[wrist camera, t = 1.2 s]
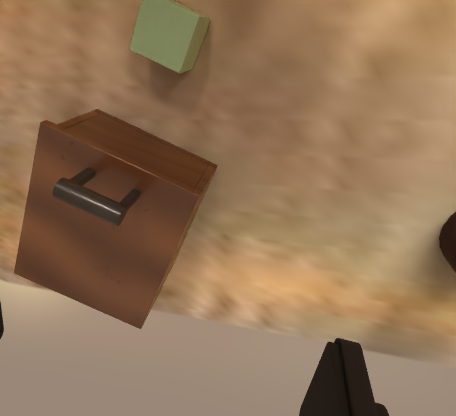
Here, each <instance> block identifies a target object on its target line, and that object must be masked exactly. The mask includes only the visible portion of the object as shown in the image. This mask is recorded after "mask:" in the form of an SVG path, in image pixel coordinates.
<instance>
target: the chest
mask: <svg viewBox="0 0 456 416" xmlns="http://www.w3.org/2000/svg"><path fill="white" fill-rule="evenodd" d="M57 125H58V126H60V127H62V128H65V129H67V130H69V131H71V132H73V133H75V134H77V135H80V136H82V137H84V138H86V139H88V140H90V141H93V142H95V143H97V144H99V145H101V146H103V147H105V148H108V149H110V150H112V151H114V152H116V153H118V154H120V155H123V156H125V157H127V158H129V159H131V160H133V161H135V162H138V163H140V164H142V165H144V166H146V167H148V168H150V169H153V170H155V171H157V172H159V173H161V174H163V175H166V176H168V177H170V178H172V179H174V180H176V181H178V182H181V183H183V184H185V185H187V186H189V187H191V188H193V189H196V190H198V191H200V192H201V195H200V197H199V200H198V202H197V204H196V207H195V209H194V211H193V213H192V216H191V218H190V220H189V222H188V225H187V227H186V229H185V231H184V234H183V236H182V238H181V240H180V243H179V245H178V247H177V249H176V252H175V254H174V256H173V258H172V261H171V263H170V265H169V267H168V270H167V272H166V274H165V277H164V279H163V281H162V283H161V286H160V288H159V290H158V292H157V295H156V297H155V299H154V301H153V304H154V302H155V300H156V298H157V296H158V294H159V292H160V290H161V288H162V286H163V284H164V282H165V280H166V278H167V276H168V274H169V272H170V270H171V268H172V266H173V264H174V261H175V259H176V257H177V255H178V252H179V250H180V248H181V246H182V243H183V241H184V239H185V237H186V235H187V232H188V230H189V228H190V226H191V223H192V221H193V219H194V217H195V214H196V212H197V210H198V208H199V206H200V203H201V201H202V199H203V197H204V194H205V192H206V190H207V188H208V186H209V183H210V181H211V179H212V177H213V174H214V172H215V170H216V168H217V165H215V164H213V163H211V162H209V161H207V160H205V159H203V158H200V157H198V156H196V155H194V154H192V153H190V152H188V151H186V150H183V149H181V148H179V147H177V146H175V145H173V144H171V143H169V142H167V141H164V140H162V139H160V138H158V137H156V136H154V135H152V134H150V133H147V132H145V131H143V130H141V129H139V128H137V127H135V126H133V125H130V124H128V123H126V122H124V121H122V120H120V119H118V118H116V117H113V116H111V115H109V114H107V113H105V112H103V111H101V110H99V109H96V110H94V111H91V112H88V113H86V114H83V115H81V116H78V117H75V118H73V119H70V120H68V121H65V122H62V123H60V124H57ZM153 304H152V306H153ZM152 306H151V308H152ZM151 308H150V310H151ZM150 310H149V312H150ZM148 314H149V313H148ZM147 316H148V315H147ZM146 318H147V317H146ZM145 320H146V319H145Z"/></svg>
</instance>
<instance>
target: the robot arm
mask: <svg viewBox="0 0 456 416" xmlns="http://www.w3.org/2000/svg"><path fill="white" fill-rule="evenodd" d="M3 331H4V327H3V319H2V311H1V303H0V339H1V337H2V335H3ZM299 416H389V414H388V412H387V409H386V408H385V406H384V405H382V404H379V403H375V401H374V397H373V393H372V389H371V385H370V380H369V377H368V372H367V368H366V364H365V360H364V356H363V352H362V348H361V345H360V344H359V343H356V342H352V341H348V340H344V339H340V338H337V339H336V340H335V341H334V343H332V342H328V343H327V345H326V347H325V350H324V352H323V354H322V357H321V359H320V361H319V364H318V367H317V369H316V371H315V374H314V376H313V379H312V381H311V383H310V386H309V388H308V391H307V393H306V396H305V398H304V401H303V403H302V405H301V409H300V414H299Z"/></svg>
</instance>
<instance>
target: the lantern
mask: <svg viewBox="0 0 456 416" xmlns="http://www.w3.org/2000/svg"><path fill="white" fill-rule="evenodd" d="M439 241H440V249H441V251H442V253H443V255H444V257H445V258H446V259H447V261H448V262H449V264H450V265H451V267H452V268H453V269H454V271H455V272H456V213H454V214H453V215H452V216H451V217H450V218H449V219H448V220H447V222H446V223H445V224H444V226H443V228H442V231H441V234H440V236H439Z"/></svg>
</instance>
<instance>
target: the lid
mask: <svg viewBox="0 0 456 416" xmlns="http://www.w3.org/2000/svg"><path fill="white" fill-rule="evenodd" d="M200 195H201V192H200V191H198V190H196V189H193V188H191V187H189V186H187V185H185V184H183V183H181V182H178V181H176V180H174V179H172V178H170V177H168V176H166V175H163V174H161V173H159V172H157V171H155V170H153V169H150V168H148V167H146V166H144V165H142V164H140V163H138V162H135V161H133V160H131V159H129V158H127V157H125V156H123V155H120V154H118V153H116V152H114V151H112V150H110V149H108V148H105V147H103V146H101V145H99V144H97V143H95V142H93V141H90V140H88V139H86V138H84V137H82V136H80V135H77V134H75V133H73V132H71V131H69V130H67V129H65V128H62V127H60V126H58V125H56V124H54V123H52V122H50V121H47V120H45V121H42V122H41V123H40V129H39V134H38V140H37V146H36V151H35V157H34V163H33V168H32V174H31V180H30V185H29V191H28V197H27V202H26V208H25V214H24V220H23V225H22V231H21V237H20V242H19V248H18V254H17V259H16V265H15V271H14V273H15V274H17V275H19V276H22V277H24V278H26V279H28V280H31V281H33V282H35V283H37V284H40V285H42V286H44V287H46V288H49V289H51V290H53V291H55V292H58V293H60V294H62V295H65V296H67V297H69V298H72V299H74V300H76V301H78V302H80V303H83V304H85V305H87V306H89V307H92V308H94V309H96V310H98V311H101V312H103V313H105V314H108V315H110V316H112V317H114V318H117V319H119V320H121V321H123V322H126V323H128V324H130V325H133V326H135V327H137V328H140V329H141V328H142V326H143V324H144V322H145V319H146V317H147V315H148V313H149V310H150V308H151V306H152V304H153V301H154V299H155V297H156V295H157V292H158V290H159V288H160V286H161V283H162V281H163V279H164V277H165V274H166V272H167V270H168V267H169V265H170V263H171V261H172V258H173V256H174V254H175V252H176V249H177V247H178V245H179V243H180V240H181V238H182V236H183V234H184V231H185V229H186V227H187V225H188V222H189V220H190V218H191V216H192V213H193V211H194V209H195V207H196V204H197V202H198V200H199V197H200Z"/></svg>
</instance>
